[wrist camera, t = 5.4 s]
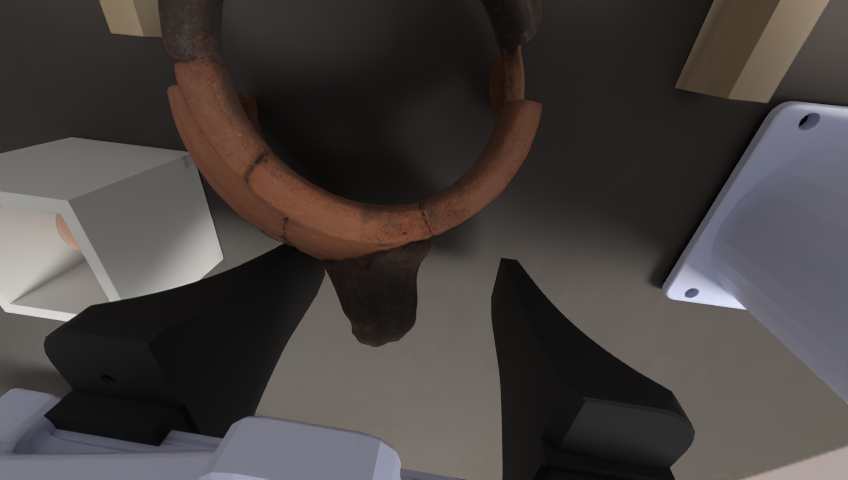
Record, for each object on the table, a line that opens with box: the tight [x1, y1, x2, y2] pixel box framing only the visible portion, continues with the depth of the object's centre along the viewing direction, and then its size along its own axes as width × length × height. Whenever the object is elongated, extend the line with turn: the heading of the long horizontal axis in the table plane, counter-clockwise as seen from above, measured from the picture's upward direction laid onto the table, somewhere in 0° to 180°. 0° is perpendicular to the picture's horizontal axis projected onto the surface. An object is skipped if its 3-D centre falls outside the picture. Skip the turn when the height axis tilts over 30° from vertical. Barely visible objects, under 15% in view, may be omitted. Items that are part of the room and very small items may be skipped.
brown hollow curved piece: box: [158, 0, 543, 347], centre depth 10 cm, size 12×10×8 cm
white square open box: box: [0, 137, 224, 321], centre depth 13 cm, size 6×6×5 cm
